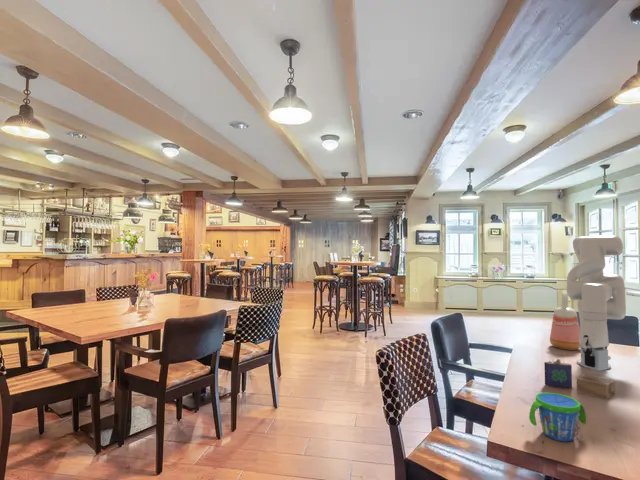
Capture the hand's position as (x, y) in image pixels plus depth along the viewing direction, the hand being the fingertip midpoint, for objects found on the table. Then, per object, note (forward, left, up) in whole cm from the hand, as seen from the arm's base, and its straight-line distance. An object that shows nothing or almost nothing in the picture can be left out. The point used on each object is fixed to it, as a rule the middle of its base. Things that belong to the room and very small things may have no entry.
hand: (595, 364), depth 133 cm
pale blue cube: (0, 0, -1) cm, 1 cm away
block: (0, 0, -10) cm, 10 cm away
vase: (-54, -46, -10) cm, 72 cm away
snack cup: (+45, +16, -10) cm, 49 cm away
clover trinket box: (+7, -9, -10) cm, 16 cm away
